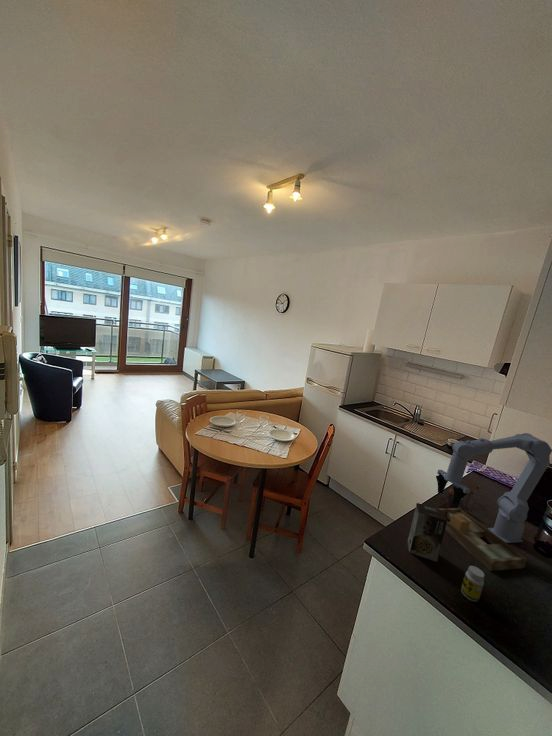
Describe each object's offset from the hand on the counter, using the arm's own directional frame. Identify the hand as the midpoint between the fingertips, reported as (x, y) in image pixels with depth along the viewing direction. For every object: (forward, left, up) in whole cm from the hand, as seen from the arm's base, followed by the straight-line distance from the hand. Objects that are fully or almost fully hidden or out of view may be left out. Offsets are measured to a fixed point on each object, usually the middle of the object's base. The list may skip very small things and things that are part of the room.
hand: (447, 498), depth 122 cm
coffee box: (+24, +15, -11) cm, 30 cm away
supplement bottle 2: (+21, +32, -11) cm, 40 cm away
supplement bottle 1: (-14, -8, -11) cm, 19 cm away
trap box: (-4, +11, -10) cm, 16 cm away
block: (-1, +7, -8) cm, 11 cm away
